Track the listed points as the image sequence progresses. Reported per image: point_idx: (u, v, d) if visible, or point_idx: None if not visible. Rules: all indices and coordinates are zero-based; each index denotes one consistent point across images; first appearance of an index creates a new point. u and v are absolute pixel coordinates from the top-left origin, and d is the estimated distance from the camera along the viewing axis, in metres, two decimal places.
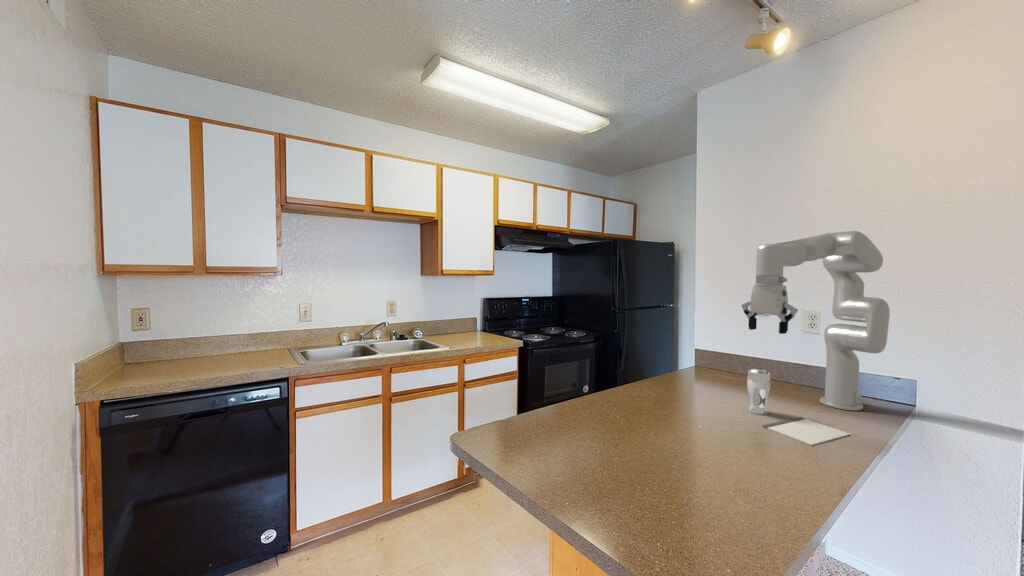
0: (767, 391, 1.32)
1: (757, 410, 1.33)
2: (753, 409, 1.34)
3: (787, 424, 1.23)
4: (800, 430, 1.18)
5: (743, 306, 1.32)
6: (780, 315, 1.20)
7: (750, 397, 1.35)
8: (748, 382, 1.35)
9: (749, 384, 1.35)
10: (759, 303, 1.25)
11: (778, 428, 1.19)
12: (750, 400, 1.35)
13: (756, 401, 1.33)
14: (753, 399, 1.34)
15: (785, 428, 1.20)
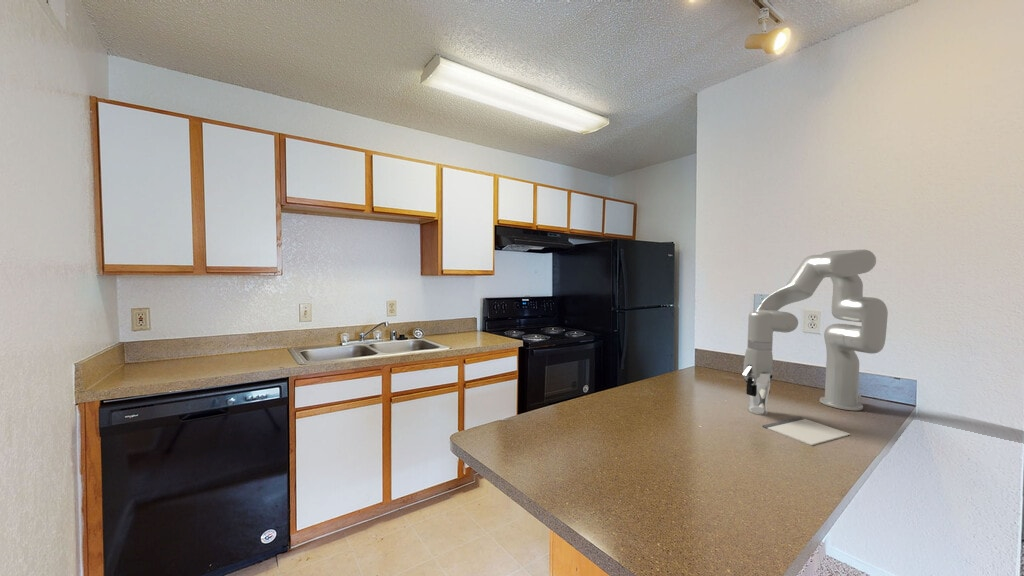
0: (767, 391, 1.32)
1: (757, 410, 1.33)
2: (753, 409, 1.34)
3: (787, 424, 1.23)
4: (800, 430, 1.18)
5: (747, 376, 1.31)
6: None
7: (750, 397, 1.35)
8: None
9: None
10: (762, 368, 1.32)
11: (778, 428, 1.19)
12: (750, 400, 1.35)
13: (756, 401, 1.33)
14: (753, 399, 1.34)
15: (785, 428, 1.20)
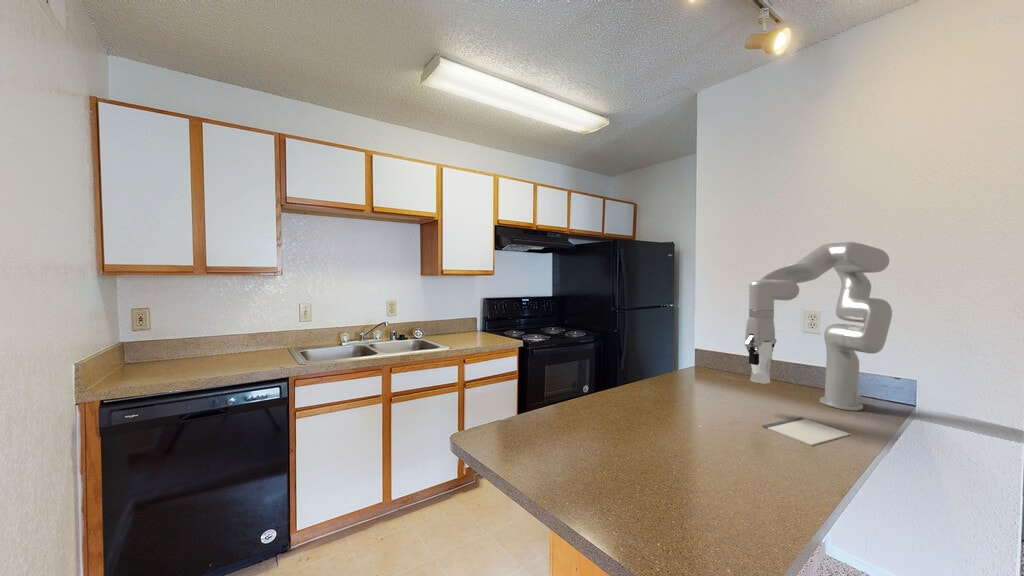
0: (769, 359, 1.32)
1: (760, 379, 1.33)
2: (756, 378, 1.33)
3: (787, 424, 1.23)
4: (800, 430, 1.18)
5: (749, 344, 1.31)
6: None
7: (753, 366, 1.35)
8: None
9: None
10: (764, 336, 1.31)
11: (778, 428, 1.19)
12: (753, 369, 1.35)
13: (758, 369, 1.33)
14: (756, 368, 1.33)
15: (785, 428, 1.20)
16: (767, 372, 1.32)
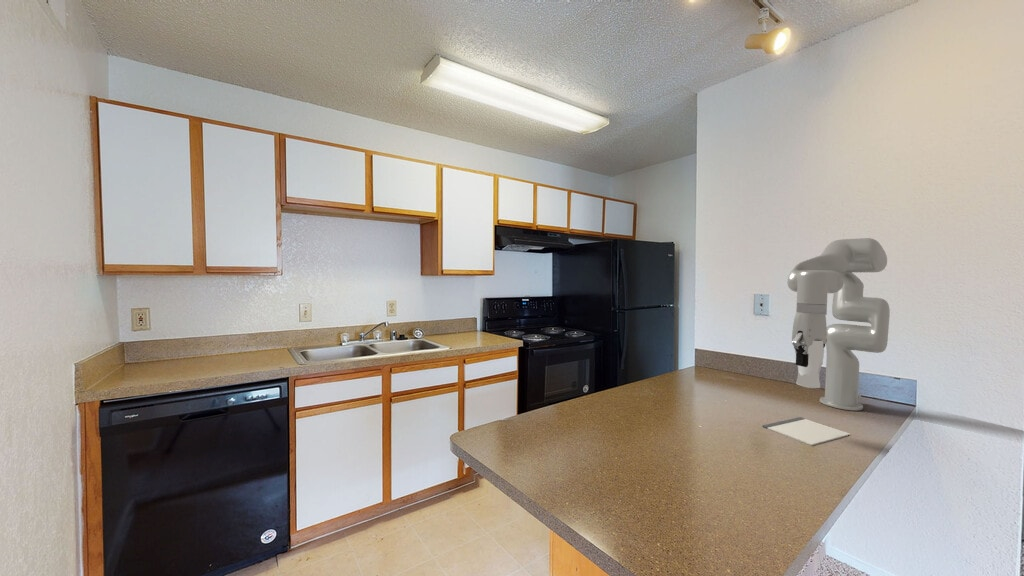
0: (821, 361, 1.15)
1: (809, 383, 1.16)
2: (804, 382, 1.17)
3: (787, 424, 1.23)
4: (800, 430, 1.18)
5: (797, 343, 1.14)
6: None
7: (800, 368, 1.18)
8: None
9: None
10: (815, 334, 1.15)
11: (778, 428, 1.19)
12: (800, 372, 1.18)
13: (807, 372, 1.16)
14: (804, 371, 1.17)
15: (785, 428, 1.20)
16: (817, 375, 1.16)
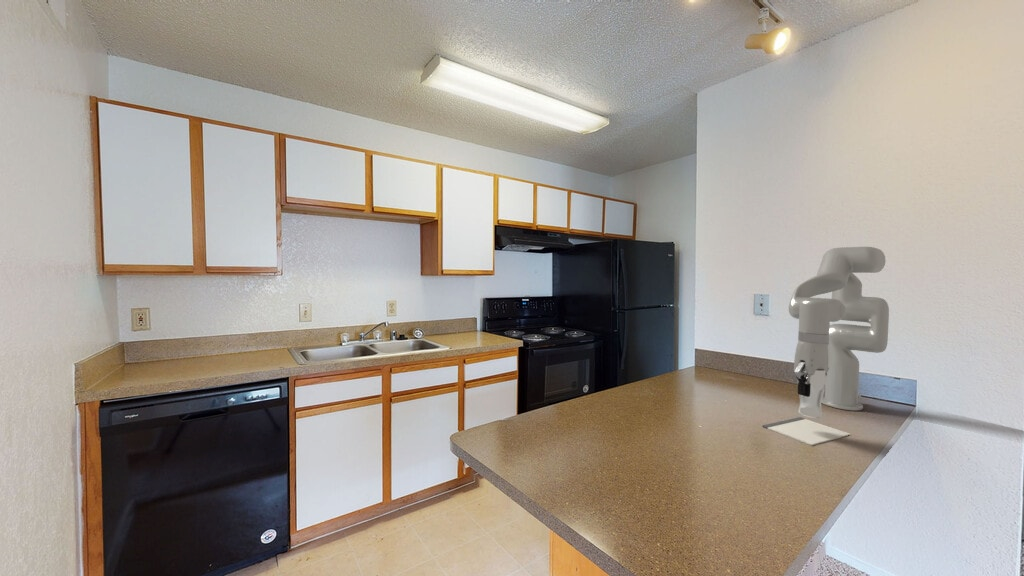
0: (823, 391, 1.14)
1: (811, 413, 1.15)
2: (806, 411, 1.16)
3: (787, 424, 1.23)
4: (800, 430, 1.18)
5: (799, 373, 1.14)
6: None
7: (802, 398, 1.17)
8: None
9: None
10: (817, 364, 1.14)
11: (778, 428, 1.19)
12: (802, 401, 1.18)
13: (809, 402, 1.15)
14: (806, 400, 1.16)
15: (785, 428, 1.20)
16: (819, 405, 1.15)
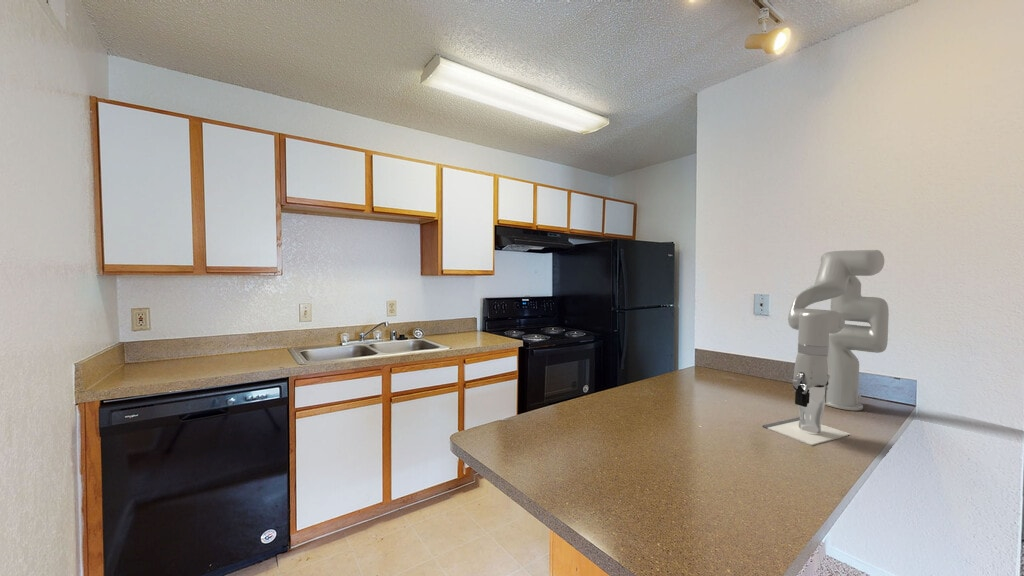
0: (823, 407, 1.15)
1: (811, 429, 1.16)
2: (806, 428, 1.16)
3: (787, 424, 1.23)
4: None
5: (798, 382, 1.14)
6: (825, 384, 1.18)
7: (802, 414, 1.18)
8: None
9: None
10: (817, 376, 1.14)
11: (778, 428, 1.19)
12: (802, 417, 1.18)
13: (809, 418, 1.16)
14: (806, 417, 1.16)
15: (785, 428, 1.20)
16: (819, 421, 1.15)
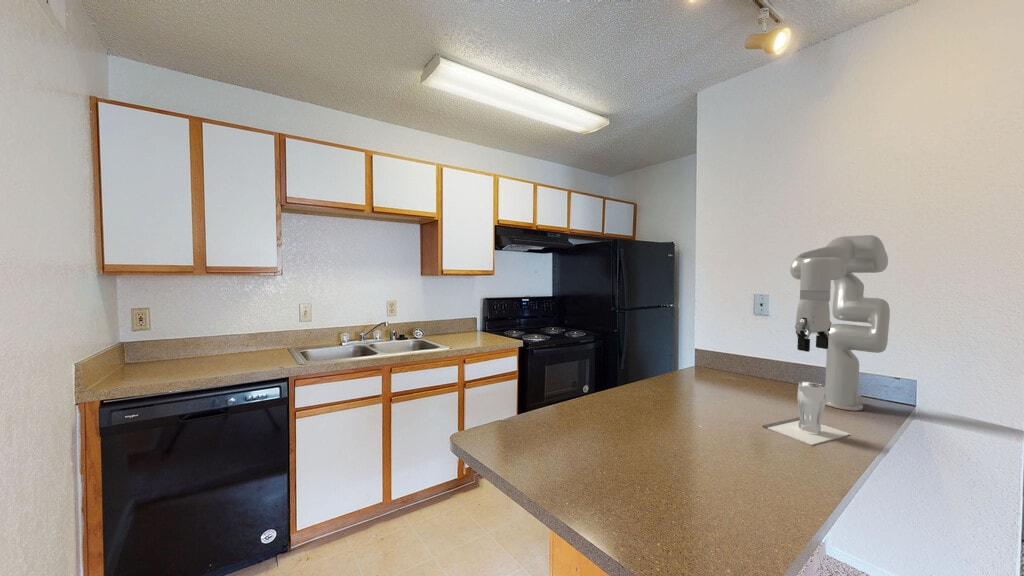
0: (823, 407, 1.15)
1: (811, 429, 1.16)
2: (806, 428, 1.16)
3: (787, 424, 1.23)
4: None
5: (800, 327, 1.14)
6: (827, 330, 1.19)
7: (802, 414, 1.18)
8: (799, 397, 1.18)
9: (801, 399, 1.17)
10: (819, 321, 1.15)
11: (778, 428, 1.19)
12: (802, 417, 1.18)
13: (809, 418, 1.16)
14: (806, 417, 1.16)
15: (785, 428, 1.20)
16: (819, 421, 1.15)
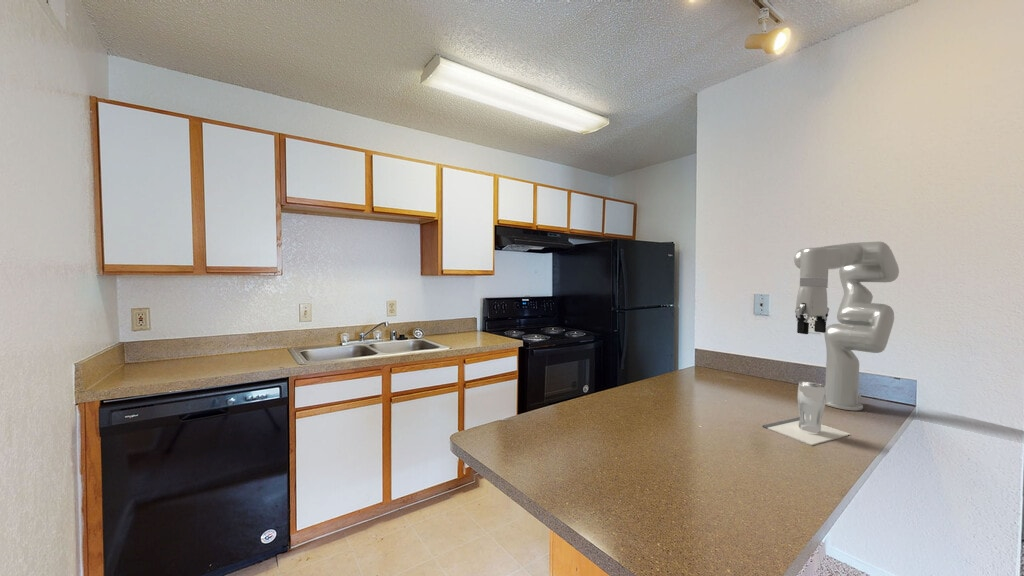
0: (823, 407, 1.15)
1: (811, 429, 1.16)
2: (806, 428, 1.16)
3: (787, 424, 1.23)
4: None
5: (799, 311, 1.24)
6: (824, 315, 1.28)
7: (802, 414, 1.18)
8: (799, 397, 1.18)
9: (801, 399, 1.17)
10: (817, 306, 1.25)
11: (778, 428, 1.19)
12: (802, 417, 1.18)
13: (809, 418, 1.16)
14: (806, 417, 1.16)
15: (785, 428, 1.20)
16: (819, 422, 1.15)
